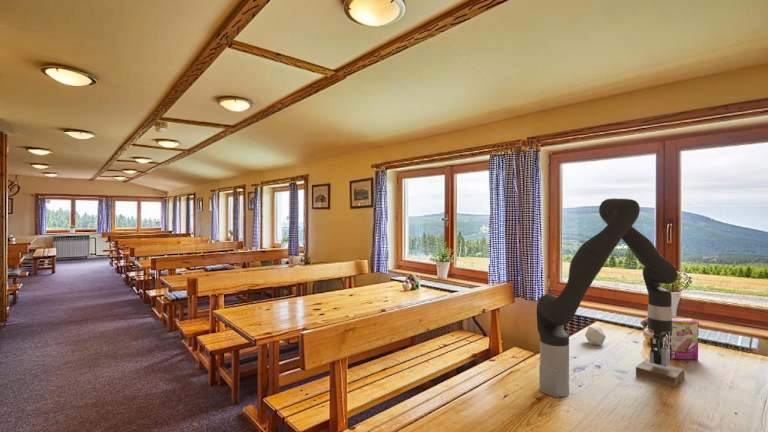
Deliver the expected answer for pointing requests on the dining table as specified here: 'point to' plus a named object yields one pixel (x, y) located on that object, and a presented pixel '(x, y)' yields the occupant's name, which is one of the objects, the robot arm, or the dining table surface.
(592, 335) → the die
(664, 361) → the slate cube
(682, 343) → the candy bar box
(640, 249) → the robot arm
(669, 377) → the walnut block
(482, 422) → the dining table surface
